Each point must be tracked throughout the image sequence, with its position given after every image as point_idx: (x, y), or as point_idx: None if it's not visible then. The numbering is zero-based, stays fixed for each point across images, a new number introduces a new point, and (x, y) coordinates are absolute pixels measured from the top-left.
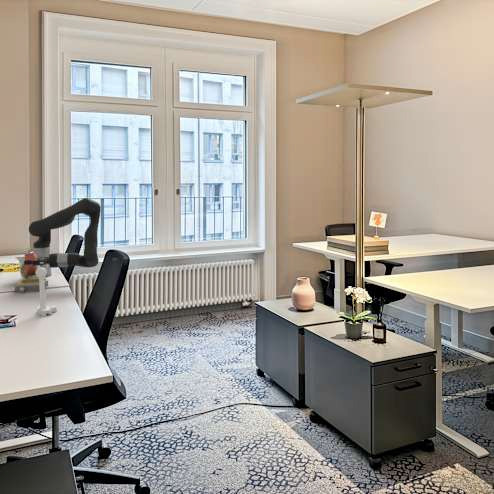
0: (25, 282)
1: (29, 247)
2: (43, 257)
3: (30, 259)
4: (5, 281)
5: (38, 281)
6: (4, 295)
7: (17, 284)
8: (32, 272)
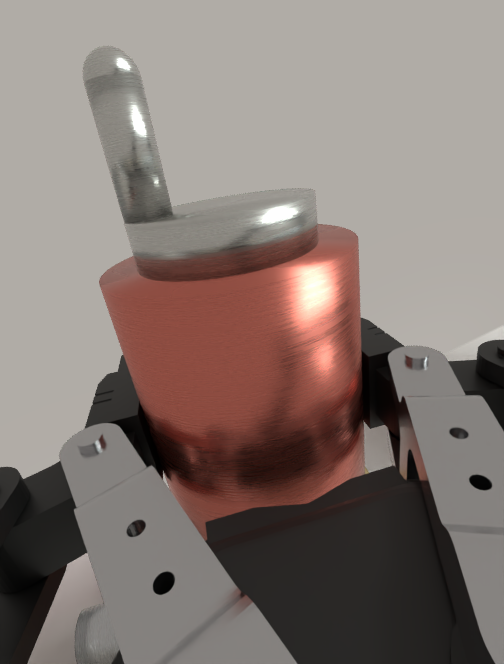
0: None
1: (89, 55)
2: (461, 576)
3: (135, 386)
4: (478, 341)
5: None
6: None
7: None
8: None
